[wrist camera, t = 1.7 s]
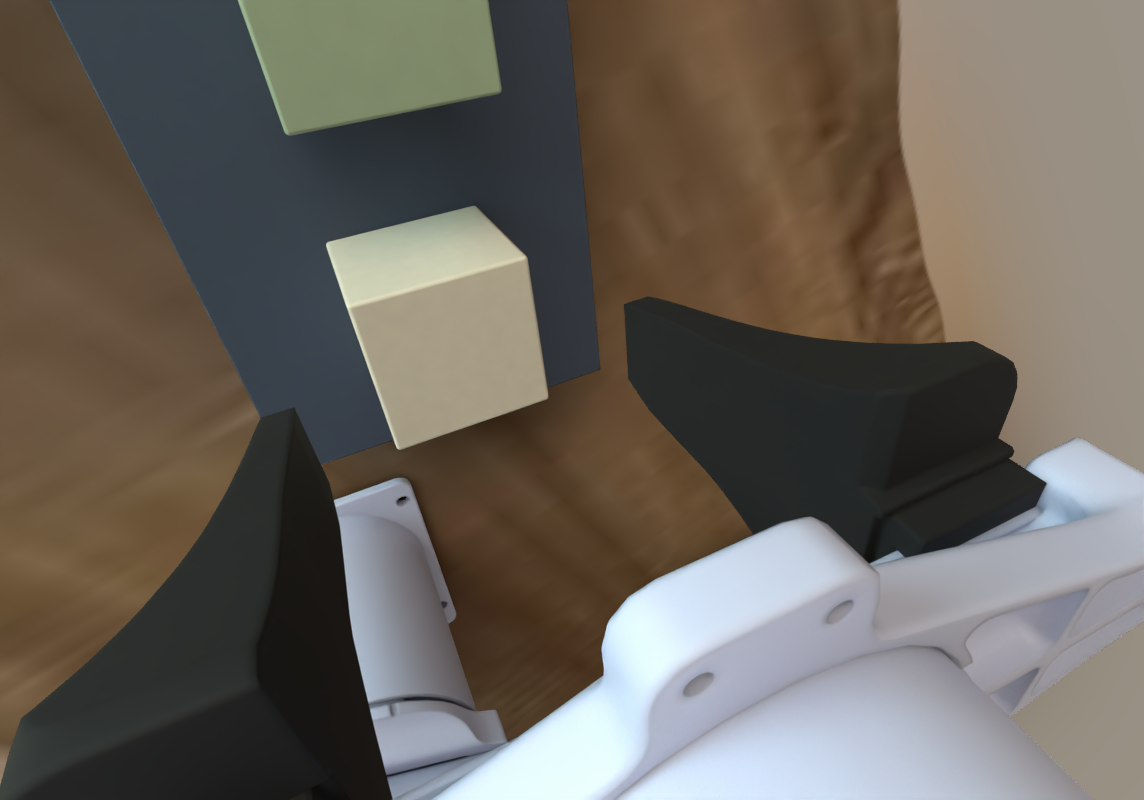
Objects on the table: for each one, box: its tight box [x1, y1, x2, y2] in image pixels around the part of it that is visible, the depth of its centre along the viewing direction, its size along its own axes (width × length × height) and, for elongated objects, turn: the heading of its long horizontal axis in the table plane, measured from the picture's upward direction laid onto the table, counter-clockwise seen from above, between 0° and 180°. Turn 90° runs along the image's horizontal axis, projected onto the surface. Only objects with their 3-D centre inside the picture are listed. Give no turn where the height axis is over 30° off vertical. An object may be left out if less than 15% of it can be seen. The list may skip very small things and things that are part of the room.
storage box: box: [49, 0, 600, 464], centre depth 17 cm, size 16×10×4 cm, turn 7°
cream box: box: [326, 206, 548, 450], centre depth 16 cm, size 4×4×4 cm
